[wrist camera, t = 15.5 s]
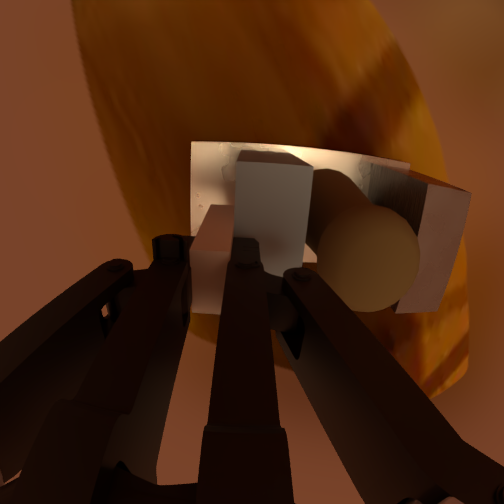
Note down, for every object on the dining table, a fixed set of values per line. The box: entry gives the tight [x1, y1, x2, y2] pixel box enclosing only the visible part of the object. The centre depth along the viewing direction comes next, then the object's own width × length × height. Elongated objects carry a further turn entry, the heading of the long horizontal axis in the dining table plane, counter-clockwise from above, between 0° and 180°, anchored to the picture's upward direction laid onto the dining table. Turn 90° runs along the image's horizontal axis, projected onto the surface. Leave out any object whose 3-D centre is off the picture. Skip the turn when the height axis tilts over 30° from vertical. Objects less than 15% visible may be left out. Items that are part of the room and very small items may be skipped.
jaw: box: [234, 150, 314, 277], centre depth 18 cm, size 8×4×8 cm, turn 177°
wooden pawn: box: [305, 168, 420, 312], centre depth 17 cm, size 6×6×11 cm
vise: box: [191, 141, 471, 313], centre depth 19 cm, size 9×17×9 cm, turn 87°
